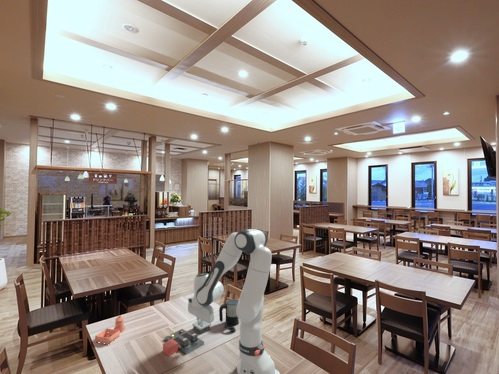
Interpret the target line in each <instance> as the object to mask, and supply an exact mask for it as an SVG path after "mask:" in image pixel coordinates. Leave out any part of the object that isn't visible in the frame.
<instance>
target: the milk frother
mask: <svg viewBox="0 0 499 374" xmlns="http://www.w3.org/2000/svg"><path fill="white" fill-rule="evenodd" d="M238 302H239V299H235V298H232V299H231V298H230V299H227V300H226V301H225V303H224V304H221V305H220V306H219V309H218V312H219V322H223V320H224V319H223V314H224V313H223V310H224V309H225V324H224V326H223V327H224V328H225V329H226V330H228V331H231V332H236V325H237V326H238V325H239V323H240V322H239V321H240V320H239V318H238V317H237V314H236V309H237V305H238Z"/></svg>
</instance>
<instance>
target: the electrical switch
mask: <svg viewBox="0 0 499 374" xmlns="http://www.w3.org/2000/svg"><path fill="white" fill-rule="evenodd" d="M191 326H193V327H192V328H193V330H194V331H195V332H197V334H199V335H200V334H203V333H204V332H207V331H209V330H210V329H211V326H212V322H211V323H207V322H205V321H204V322H203V326H200V325H198V321H197V320H196V322H193V323H192V324H191Z"/></svg>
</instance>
